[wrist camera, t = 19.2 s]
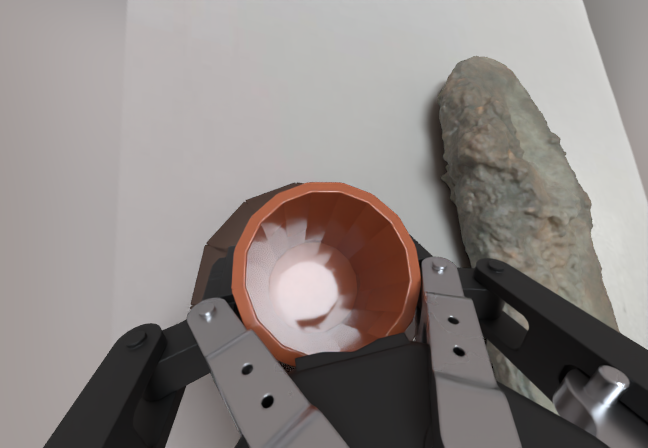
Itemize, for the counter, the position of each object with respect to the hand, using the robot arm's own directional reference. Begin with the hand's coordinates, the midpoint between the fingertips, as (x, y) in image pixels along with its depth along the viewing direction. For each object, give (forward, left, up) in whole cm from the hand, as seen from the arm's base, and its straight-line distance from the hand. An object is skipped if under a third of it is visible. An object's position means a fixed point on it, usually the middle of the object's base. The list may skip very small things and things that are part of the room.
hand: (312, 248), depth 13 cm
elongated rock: (+14, -6, -5) cm, 16 cm away
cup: (0, -1, -4) cm, 5 cm away
